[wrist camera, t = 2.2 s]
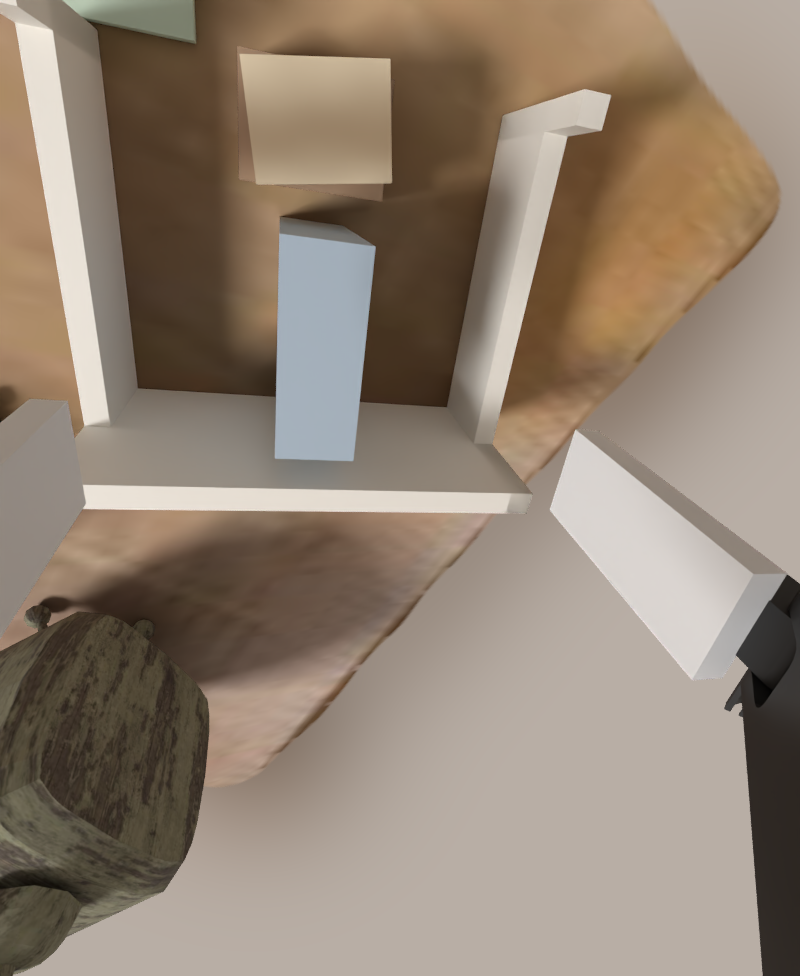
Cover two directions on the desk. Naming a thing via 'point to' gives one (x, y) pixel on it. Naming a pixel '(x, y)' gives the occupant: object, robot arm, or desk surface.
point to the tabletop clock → (91, 777)
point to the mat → (142, 16)
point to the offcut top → (318, 119)
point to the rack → (251, 419)
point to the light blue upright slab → (320, 338)
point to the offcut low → (248, 174)
